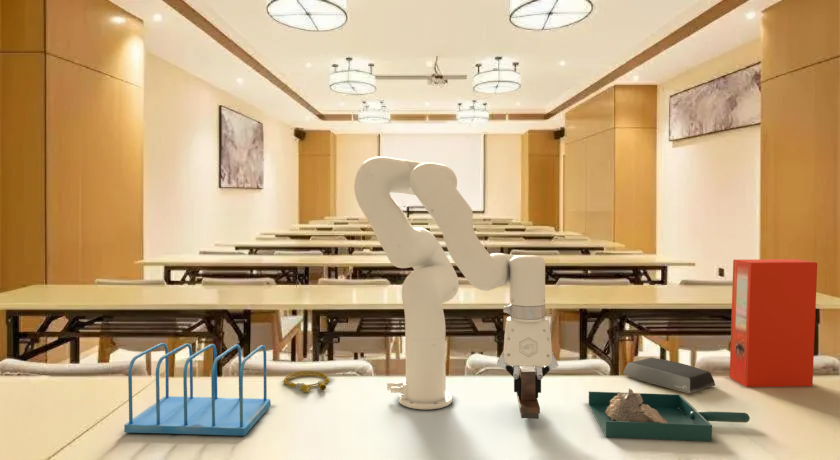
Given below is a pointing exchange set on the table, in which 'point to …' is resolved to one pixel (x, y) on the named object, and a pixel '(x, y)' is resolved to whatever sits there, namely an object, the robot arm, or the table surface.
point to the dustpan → (669, 406)
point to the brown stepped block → (528, 394)
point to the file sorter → (198, 403)
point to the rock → (632, 409)
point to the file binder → (773, 322)
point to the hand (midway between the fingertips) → (527, 394)
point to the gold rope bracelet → (303, 386)
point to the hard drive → (670, 374)
